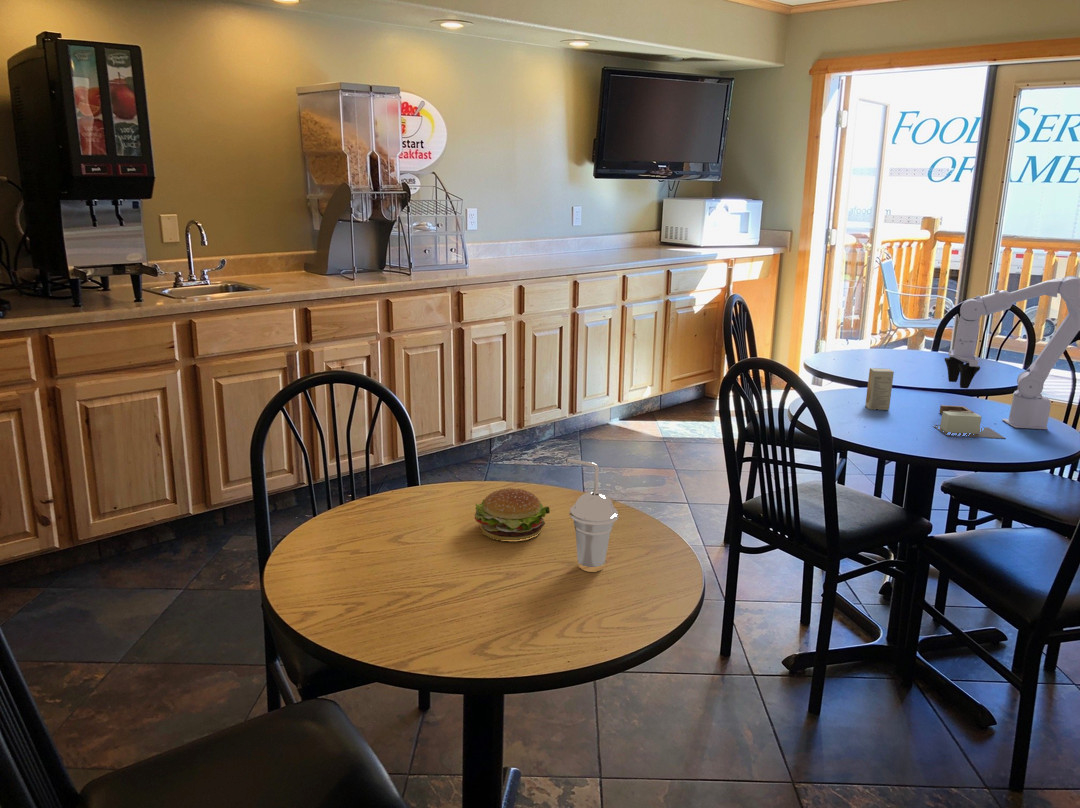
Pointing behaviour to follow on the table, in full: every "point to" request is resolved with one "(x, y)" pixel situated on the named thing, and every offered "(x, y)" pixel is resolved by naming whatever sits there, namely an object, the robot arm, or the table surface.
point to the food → (511, 514)
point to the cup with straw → (592, 522)
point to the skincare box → (879, 388)
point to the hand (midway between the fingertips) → (958, 384)
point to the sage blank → (960, 422)
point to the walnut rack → (954, 409)
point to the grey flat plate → (985, 433)
